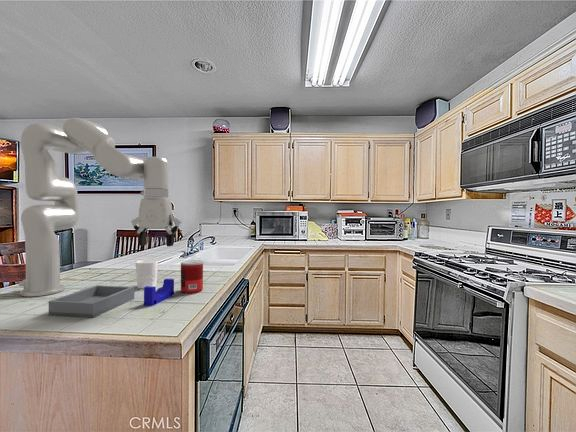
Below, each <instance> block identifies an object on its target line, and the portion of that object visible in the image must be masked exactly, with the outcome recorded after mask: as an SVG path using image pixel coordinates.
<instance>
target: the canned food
mask: <svg viewBox="0 0 576 432" xmlns="http://www.w3.org/2000/svg"><path fill="white" fill-rule="evenodd" d="M203 286H204V261H203V260H201V259H189V260H183V261H181V262H180V292H181V293H183V294H188V295H189V294H190V295H192V294H198V293H201V292H202V291H203V289H204V287H203Z"/></svg>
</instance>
